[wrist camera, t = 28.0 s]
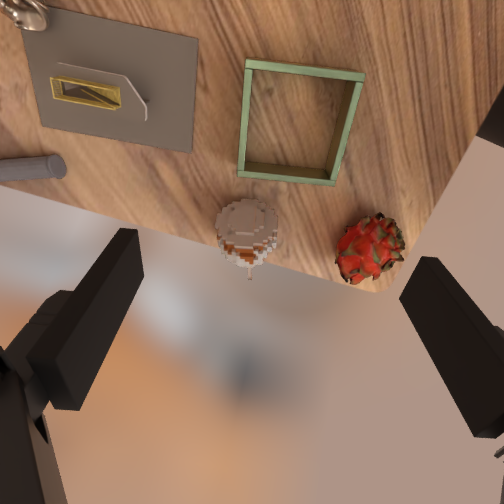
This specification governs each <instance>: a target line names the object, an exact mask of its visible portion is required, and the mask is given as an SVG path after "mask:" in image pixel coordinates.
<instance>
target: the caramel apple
mask: <svg viewBox="0 0 504 504" xmlns="http://www.w3.org/2000/svg"><path fill="white" fill-rule="evenodd" d="M277 227H278V216H274V209H270V206H266V203H258V199H241V202H237V201H232V204H228V205H227V207H223V209H222V213H217V218H216V223H215V229H218V234H217V240H218V245H219V247H220V248H221V253H222V254H225V258H227V259H228V260H229V262H230V263H236V264H237V266H238V267H247V269H248V280H252V270H251V267H252V268H253V267H254V266H255V265H258V264H261V265H262V264H263V258H267V255H268V252H272V248H276V241H277Z"/></svg>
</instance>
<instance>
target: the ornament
mask: <svg viewBox="0 0 504 504" xmlns="http://www.w3.org/2000/svg"><path fill="white" fill-rule="evenodd" d="M26 1H28V2H29V3H31V4H32V5H33V6H34V7H32V6H29V5H27V4H25V3H24V2H22V1H20V0H0V11H1V12H2V13H3V14H5V15H6V16H7V17H9V18H10V19H11V20H13V21H14V25H15V26H16V27H17V28H19V29H22V30H27V31H33V32H42V31H45V30H46V29H47V28H48V26H49V19H48V16H47V12H48V13H49V9H48V8H47V7H46V6H45V5H44V4H43V3H41V2H43V0H26Z"/></svg>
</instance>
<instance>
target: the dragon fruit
mask: <svg viewBox="0 0 504 504" xmlns="http://www.w3.org/2000/svg"><path fill="white" fill-rule="evenodd" d="M381 217H382V219H383V218H385V216H384V214H382V213H381V212H379V213H377V214H375V215H374V216H373V217H372V218H371V219H370V216H365V217H362V218H361V220H360V222H359V223H358V225H356V226H352V227H348V226H346V227H345V228H344V230H345V233H346V232H347V234H346V235H345V236H343V237H342V238H341V239H340V240H339V241H338V243H337V247H336V259H335V264H336V263H337V264H338V267H339V270H340V274H341V276H342V278H343V279H344V280H345V281H346V282H347V283H348V280H347V279H349V278H350V284H353V285H356V284H358V283H360V282H361V281H362V280H363V279H364V278H367V277H370V276H371V275H372V276H373V280H376V279H378V278H379V276H380V273H382V272H385V271H388V270H389V269H390V268H392V267H393V264H394V263H395V261H398V262H403V261H404V258H403V257H402V255H400V252H401V251H402V250H404V249H405V247H404V246H405V243H404V240H403V235H402V231H401V229H399V228H398V227H397V226H396V222H395V220H393V219H391V218H385V219H383V220H381V221H380V218H381ZM397 229H398V230H397Z"/></svg>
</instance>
